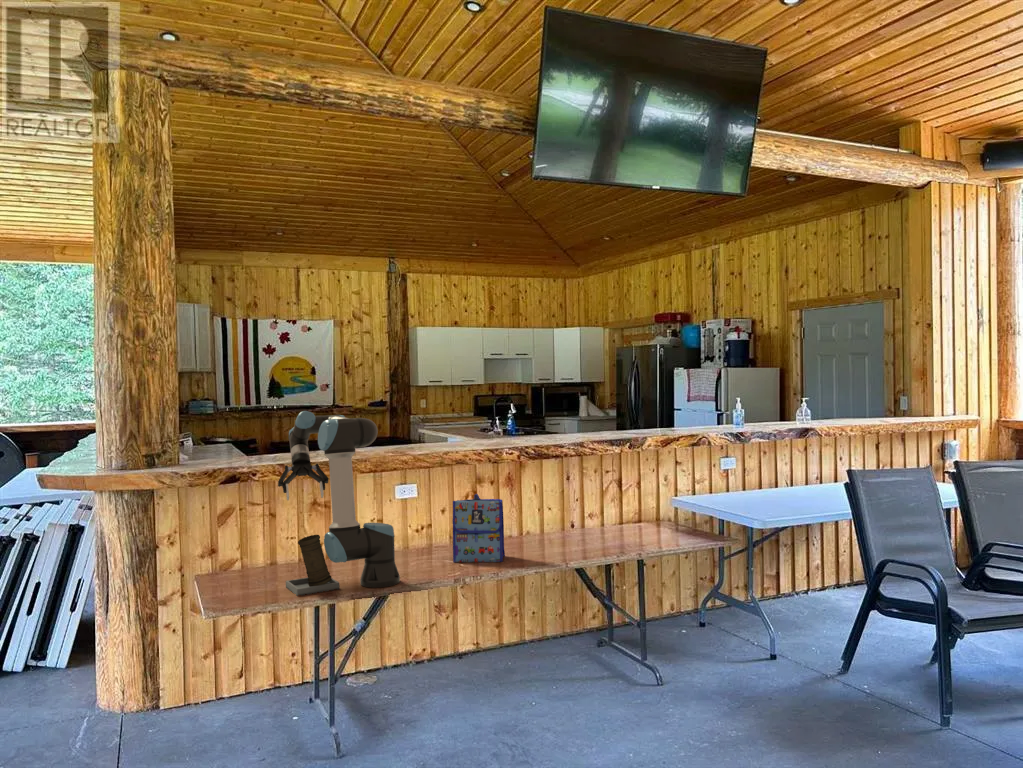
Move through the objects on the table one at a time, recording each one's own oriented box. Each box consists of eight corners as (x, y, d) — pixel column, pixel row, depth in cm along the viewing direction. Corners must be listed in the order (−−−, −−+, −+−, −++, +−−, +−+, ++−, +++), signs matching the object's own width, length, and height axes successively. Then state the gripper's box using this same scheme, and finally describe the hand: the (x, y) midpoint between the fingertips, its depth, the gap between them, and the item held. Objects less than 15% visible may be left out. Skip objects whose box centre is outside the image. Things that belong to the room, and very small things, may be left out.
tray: (326, 580, 298) (326, 574, 298) (339, 589, 284) (339, 582, 284) (285, 587, 290) (285, 580, 290) (297, 596, 276) (297, 589, 276)
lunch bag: (452, 563, 323) (450, 496, 323) (457, 556, 336) (455, 492, 337) (503, 562, 321) (501, 495, 322) (505, 555, 335) (503, 491, 335)
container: (325, 585, 284) (313, 540, 282) (304, 588, 286) (292, 544, 284) (335, 576, 292) (324, 532, 291) (315, 579, 295) (304, 535, 293)
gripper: (329, 461, 327) (335, 500, 312) (269, 465, 317) (273, 505, 303) (331, 450, 322) (337, 488, 308) (270, 453, 313) (273, 493, 298)
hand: (305, 497), depth 305 cm, fingers open, 13 cm apart
